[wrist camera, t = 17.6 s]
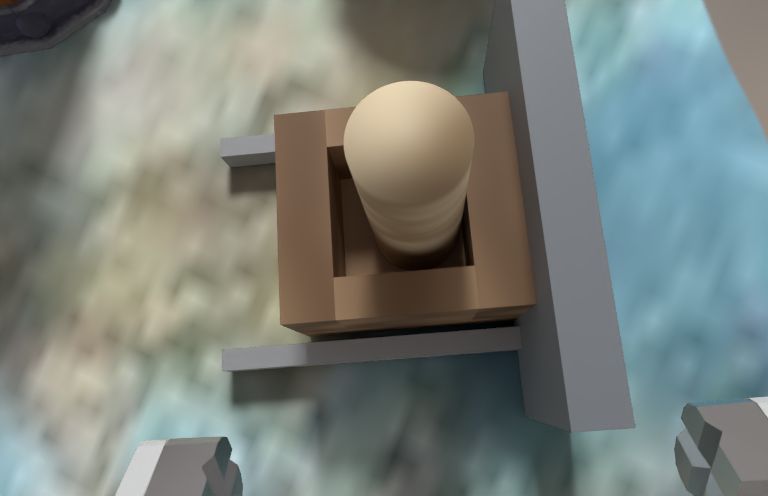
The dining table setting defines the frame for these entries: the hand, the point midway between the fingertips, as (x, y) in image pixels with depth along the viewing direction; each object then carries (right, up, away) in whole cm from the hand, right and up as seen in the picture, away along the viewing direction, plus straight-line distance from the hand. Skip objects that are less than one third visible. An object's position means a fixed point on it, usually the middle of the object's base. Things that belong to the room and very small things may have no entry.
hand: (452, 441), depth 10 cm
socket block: (0, +4, +19) cm, 19 cm away
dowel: (0, +4, +17) cm, 17 cm away
